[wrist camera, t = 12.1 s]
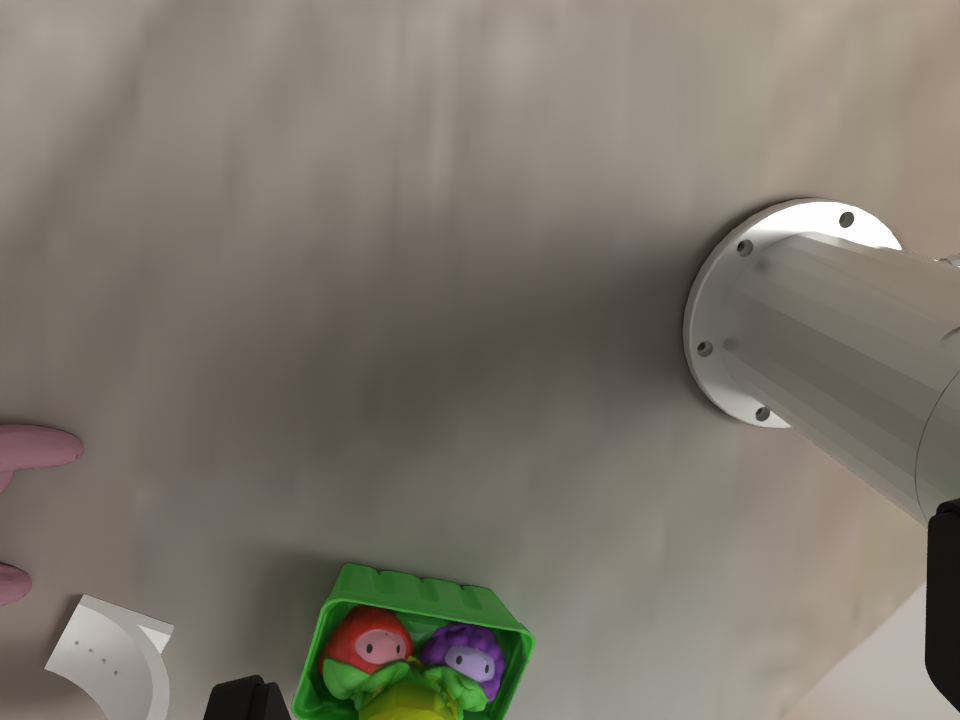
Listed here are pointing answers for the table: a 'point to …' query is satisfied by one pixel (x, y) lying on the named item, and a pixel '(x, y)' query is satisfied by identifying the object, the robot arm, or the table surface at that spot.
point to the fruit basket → (410, 651)
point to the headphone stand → (115, 659)
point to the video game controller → (25, 450)
